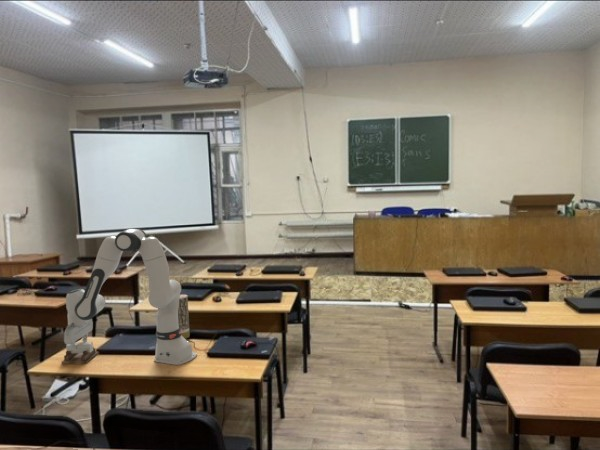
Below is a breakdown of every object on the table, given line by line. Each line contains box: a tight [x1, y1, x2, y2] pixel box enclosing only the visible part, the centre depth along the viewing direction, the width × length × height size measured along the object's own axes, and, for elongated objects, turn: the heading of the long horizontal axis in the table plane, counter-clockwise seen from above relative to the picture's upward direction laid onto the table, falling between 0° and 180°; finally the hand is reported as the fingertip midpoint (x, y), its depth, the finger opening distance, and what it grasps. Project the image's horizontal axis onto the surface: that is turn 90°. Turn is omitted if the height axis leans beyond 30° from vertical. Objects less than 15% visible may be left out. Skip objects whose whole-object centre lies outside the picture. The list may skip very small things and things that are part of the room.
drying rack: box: [61, 346, 100, 365], centre depth 213 cm, size 13×12×5 cm
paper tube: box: [178, 294, 191, 340], centre depth 238 cm, size 7×7×25 cm
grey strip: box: [65, 341, 94, 353], centre depth 213 cm, size 12×3×4 cm, turn 94°
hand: (80, 345), depth 213 cm, fingers open, 8 cm apart
